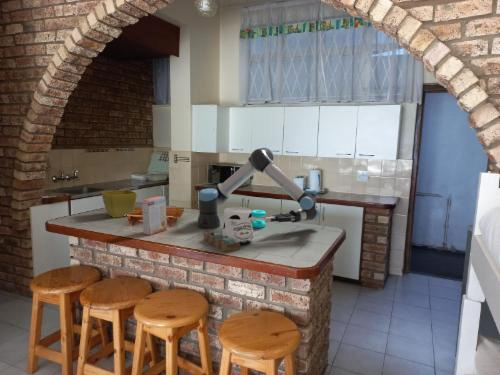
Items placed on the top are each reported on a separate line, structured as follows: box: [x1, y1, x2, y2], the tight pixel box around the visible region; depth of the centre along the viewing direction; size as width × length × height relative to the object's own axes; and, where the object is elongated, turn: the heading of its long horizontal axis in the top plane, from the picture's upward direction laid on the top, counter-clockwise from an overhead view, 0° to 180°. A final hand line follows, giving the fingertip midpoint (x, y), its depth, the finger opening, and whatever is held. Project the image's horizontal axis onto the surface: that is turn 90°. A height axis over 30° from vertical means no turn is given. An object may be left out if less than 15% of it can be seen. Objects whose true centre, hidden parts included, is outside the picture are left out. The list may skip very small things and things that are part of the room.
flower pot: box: [101, 189, 138, 219], centre depth 252 cm, size 19×19×17 cm
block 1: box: [214, 231, 223, 241], centre depth 196 cm, size 4×4×4 cm
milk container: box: [221, 206, 254, 245], centre depth 196 cm, size 17×17×18 cm
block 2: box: [222, 237, 234, 245], centre depth 187 cm, size 4×4×4 cm
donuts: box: [252, 209, 267, 229], centre depth 228 cm, size 10×10×10 cm
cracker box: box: [141, 195, 168, 236], centre depth 211 cm, size 14×6×21 cm, turn 149°
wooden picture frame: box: [203, 231, 241, 253], centre depth 191 cm, size 24×9×4 cm, turn 33°
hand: (265, 220), depth 205 cm, fingers closed
